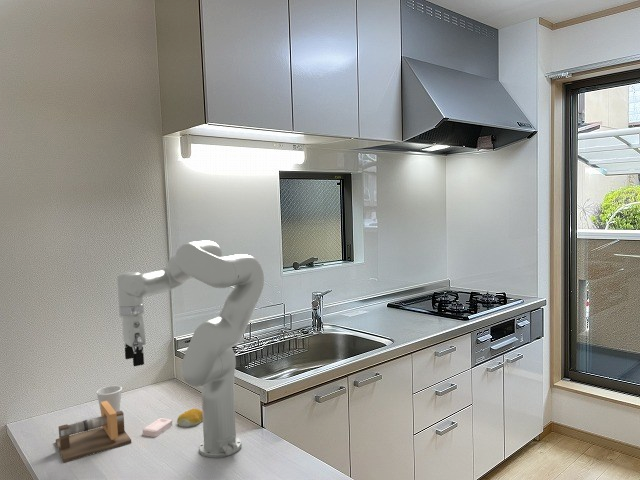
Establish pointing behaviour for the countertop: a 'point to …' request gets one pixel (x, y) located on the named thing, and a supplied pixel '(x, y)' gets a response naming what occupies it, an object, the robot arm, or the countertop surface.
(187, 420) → the bread roll
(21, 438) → the countertop surface
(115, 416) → the collar
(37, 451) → the countertop surface
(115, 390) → the dixie cup
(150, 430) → the soap bar
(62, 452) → the pipe stand
